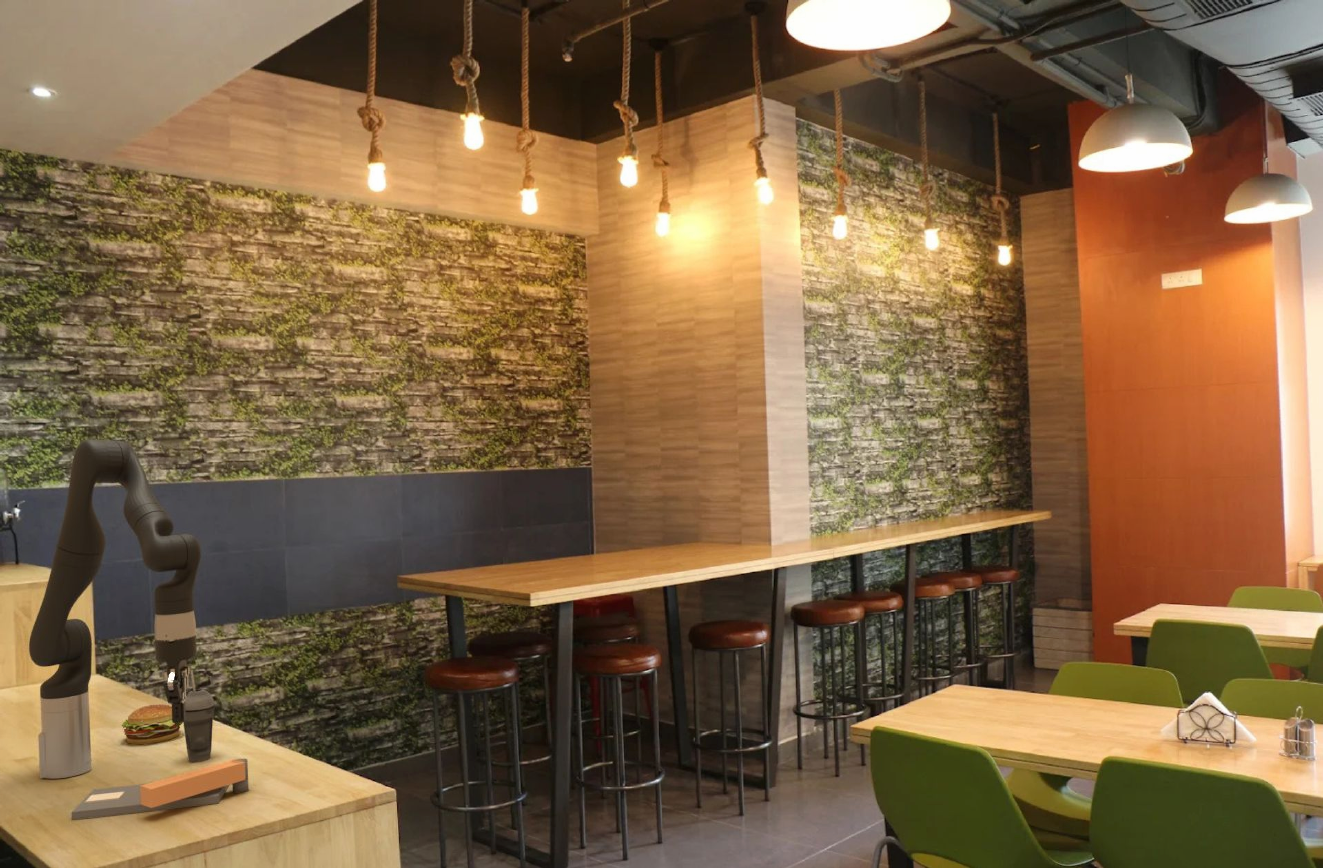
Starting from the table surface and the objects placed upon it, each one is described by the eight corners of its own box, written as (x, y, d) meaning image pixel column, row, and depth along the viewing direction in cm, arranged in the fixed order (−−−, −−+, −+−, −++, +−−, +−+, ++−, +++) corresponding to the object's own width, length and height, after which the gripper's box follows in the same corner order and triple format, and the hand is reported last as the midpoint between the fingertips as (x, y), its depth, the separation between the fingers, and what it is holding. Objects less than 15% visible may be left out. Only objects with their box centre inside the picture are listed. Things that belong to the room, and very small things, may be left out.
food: (119, 750, 247) (118, 716, 247) (124, 736, 260) (123, 704, 260) (184, 741, 253) (182, 708, 253) (185, 728, 266) (183, 696, 266)
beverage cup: (204, 764, 232) (200, 673, 233) (174, 763, 234) (171, 673, 234) (224, 754, 239) (220, 666, 240) (195, 753, 241) (192, 666, 241)
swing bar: (241, 774, 215) (240, 757, 215) (252, 777, 212) (251, 760, 212) (140, 804, 199) (140, 785, 199) (151, 807, 196) (150, 789, 196)
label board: (71, 820, 199) (71, 808, 199) (93, 796, 213) (93, 785, 213) (242, 800, 206) (242, 789, 206) (253, 779, 219) (253, 768, 219)
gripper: (163, 631, 216) (166, 715, 216) (146, 642, 203) (150, 732, 203) (202, 628, 217) (205, 712, 217) (188, 638, 205) (192, 728, 204)
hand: (179, 721), depth 210 cm, fingers closed
